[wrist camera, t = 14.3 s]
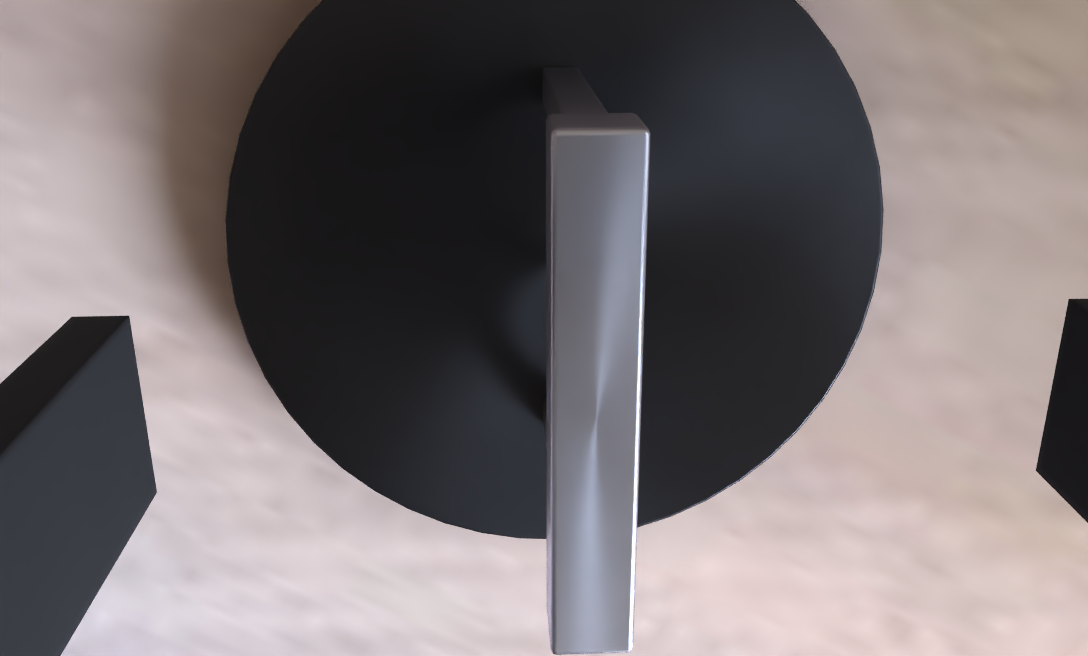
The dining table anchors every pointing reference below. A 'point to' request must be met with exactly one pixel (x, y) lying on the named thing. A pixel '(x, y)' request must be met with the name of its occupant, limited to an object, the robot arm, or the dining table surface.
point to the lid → (555, 260)
